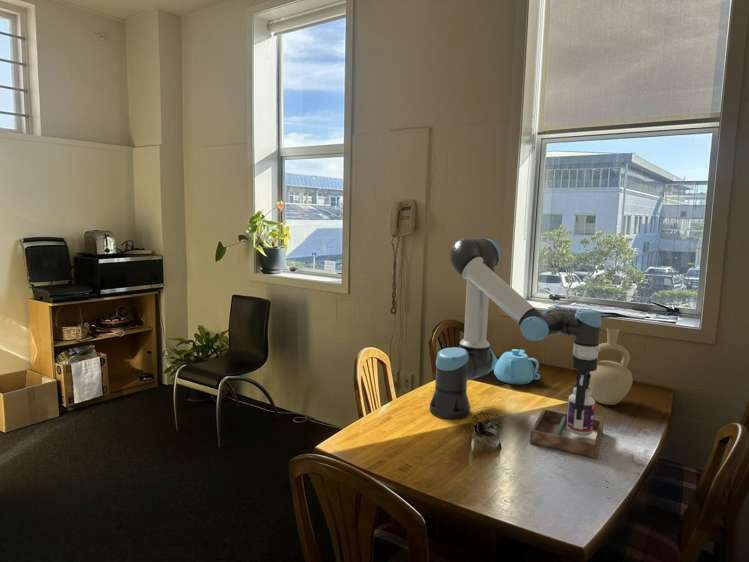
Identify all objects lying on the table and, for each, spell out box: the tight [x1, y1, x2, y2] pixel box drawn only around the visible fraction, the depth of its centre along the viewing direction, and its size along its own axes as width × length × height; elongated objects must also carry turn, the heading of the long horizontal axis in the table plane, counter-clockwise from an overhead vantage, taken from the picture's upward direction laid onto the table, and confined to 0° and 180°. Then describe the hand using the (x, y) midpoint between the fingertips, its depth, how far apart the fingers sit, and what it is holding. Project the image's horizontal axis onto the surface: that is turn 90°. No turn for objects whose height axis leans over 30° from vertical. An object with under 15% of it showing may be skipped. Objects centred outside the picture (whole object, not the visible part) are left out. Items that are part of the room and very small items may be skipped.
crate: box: [529, 408, 605, 460], centre depth 169 cm, size 20×22×4 cm
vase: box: [589, 327, 634, 406], centre depth 202 cm, size 17×17×30 cm
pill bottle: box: [567, 386, 596, 435], centre depth 167 cm, size 8×8×14 cm
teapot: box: [492, 348, 541, 385], centre depth 229 cm, size 19×19×14 cm
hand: (579, 423), depth 167 cm, fingers closed on pill bottle, 8 cm apart
